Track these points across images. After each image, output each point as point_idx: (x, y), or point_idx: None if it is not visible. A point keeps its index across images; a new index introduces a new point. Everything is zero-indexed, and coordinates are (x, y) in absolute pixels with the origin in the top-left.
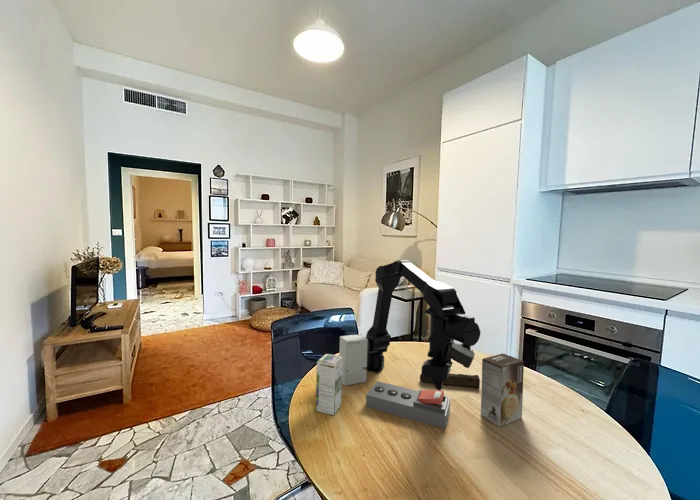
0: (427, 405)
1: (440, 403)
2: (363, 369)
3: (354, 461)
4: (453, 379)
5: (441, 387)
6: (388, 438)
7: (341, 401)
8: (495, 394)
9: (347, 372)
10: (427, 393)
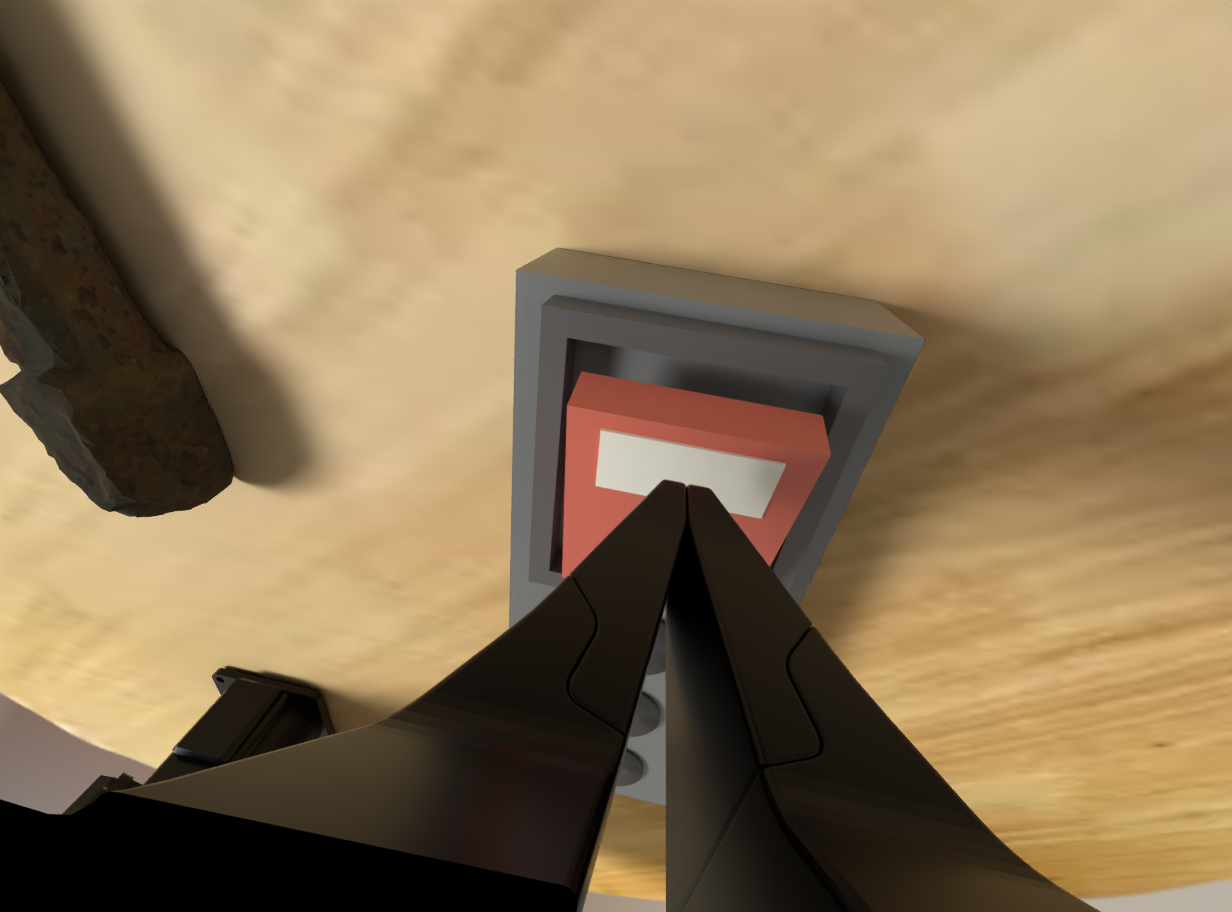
0: (814, 531)
1: (821, 428)
2: None
3: (1209, 772)
4: (4, 199)
5: (693, 501)
6: (1010, 654)
7: None
8: None
9: None
10: None
